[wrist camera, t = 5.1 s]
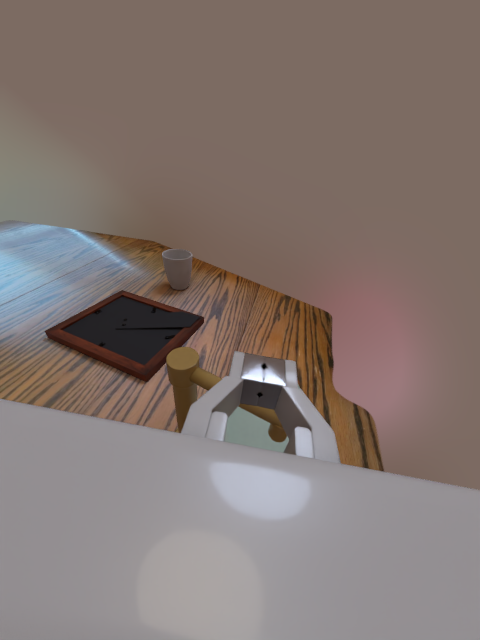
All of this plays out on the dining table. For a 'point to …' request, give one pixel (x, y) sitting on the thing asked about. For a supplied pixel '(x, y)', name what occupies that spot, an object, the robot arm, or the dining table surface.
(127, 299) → the picture frame
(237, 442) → the sink
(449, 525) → the robot arm
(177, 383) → the spout
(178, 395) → the faucet base
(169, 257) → the cup
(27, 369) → the dining table surface
